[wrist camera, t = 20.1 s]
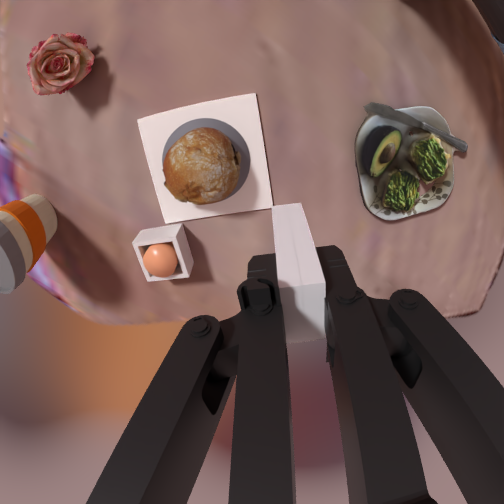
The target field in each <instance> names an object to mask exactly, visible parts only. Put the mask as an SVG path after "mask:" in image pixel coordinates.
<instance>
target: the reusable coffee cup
mask: <svg viewBox="0 0 504 504" xmlns="http://www.w3.org/2000/svg"><path fill="white" fill-rule="evenodd" d="M56 229H57V217H56V213H55V211H54V208H53V207H52V205H51V204H50V202H49V201H48V200H47V199H46V198H45V197H43V196H41V195H39V194H32V195H30V196H28V197H26V198H23V199H21V200H14V201H12V202H10V203H8V204H6V205H4V206H1V207H0V293H3V294H9V293H11V292H12V291H13V290H14V289H16V288H17V287H18V286H19V285H20V284H21V283H22V282H23V280H24V278H25V275H26V273H27V272H29V271H31V269H32V268H33V267H34V265H35V264H36V262H37V261H38V259H39V258H40V256H41V255H42V254H43V252H44V250H45V247H46V244H47V243H48V242H49V240H50V239H51V238H52V236H53V235H54V234H55V232H56Z"/></svg>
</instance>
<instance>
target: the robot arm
mask: <svg viewBox="0 0 504 504" xmlns="http://www.w3.org/2000/svg"><path fill="white" fill-rule="evenodd" d="M472 1H473V2H474V4H475V6H476V7H477V9H478V10H479V12H480V14H481V15H482V17H483V19H484V20H485V22H486V24H487V26H488V27H489V29H490V31H491V35H492V37H493V38H494V40H495V41H496V42H497V43H498V45H499V47H500V48H501V50H502V52H503V54H504V0H472ZM272 217H273V228H274V240H275V251H276V253H273V254H265V255H257V256H253V257H252V259H251V260H250V261H249V263H248V273H247V280H245V281H244V282H242V283H241V284H240V285H239V287H238V289H237V295H238V299H239V303H240V307H241V311H240V312H239V313H238V314H237V315H235V316H233V317H231V318H229V319H226V320H223V321H220V322H219V321H218V320H217V319H216V318H215V317H213V316H209V315H200V316H197V317H194V318H192V319H190V320H189V321H187V322H186V324H185V325H184V326H183V327H182V329H181V331H180V332H179V334H178V336H177V337H176V339H175V341H174V343H173V344H172V346H171V348H170V350H169V351H168V353H167V355H166V357H165V358H164V360H163V362H162V364H161V366H160V367H159V370H158V371H157V373H156V374H155V376H154V378H153V380H152V381H151V383H150V385H149V387H148V389H147V390H146V392H145V394H144V396H143V398H142V400H141V401H140V403H139V405H138V407H137V408H136V410H135V412H134V414H133V416H132V418H131V420H130V421H129V423H128V425H127V427H126V429H125V430H124V433H123V434H122V436H121V438H120V440H119V442H118V443H117V445H116V447H115V449H114V451H113V453H112V455H111V456H110V459H109V460H108V462H107V464H106V466H105V468H104V470H103V472H102V474H101V475H100V477H99V479H98V481H97V483H96V485H95V487H94V489H93V491H92V493H91V495H90V497H89V499H88V501H87V503H86V504H187V501H188V499H189V496H190V494H191V492H192V488H193V487H194V484H195V482H196V479H197V477H198V474H199V472H200V469H201V467H202V464H203V462H204V459H205V457H206V454H207V452H208V449H209V447H210V444H211V441H212V439H213V436H214V434H215V431H216V429H217V426H218V423H219V421H220V418H221V415H222V413H223V410H224V407H225V405H226V402H227V399H228V397H229V394H230V392H231V389H232V386H233V383H234V381H235V378H236V375H237V379H236V394H235V409H234V425H233V439H232V454H231V470H230V486H229V503H228V504H296V487H295V464H294V444H293V427H292V411H291V396H290V382H289V368H288V355H287V348H286V347H287V346H286V344H287V343H297V342H305V341H313V340H320V339H325V333H326V338H327V357H326V362H329V364H330V370H331V376H332V380H333V387H334V392H335V399H336V404H337V411H338V418H339V424H340V430H341V437H342V445H343V452H344V459H345V467H346V476H347V485H348V494H349V504H438V503H437V502H436V501H435V500H434V499H432V498H431V497H430V495H429V493H428V490H427V486H426V481H425V476H424V472H423V467H422V463H421V459H420V455H419V450H418V447H417V442H416V439H415V435H414V432H413V428H412V424H411V420H410V417H409V413H408V410H407V407H406V403H405V400H404V397H403V394H402V392H403V393H404V395H405V396H406V398H407V400H408V401H409V403H410V405H411V406H412V408H413V409H414V411H415V413H416V414H417V416H418V417H419V419H420V421H421V422H422V424H423V426H424V427H425V429H426V431H427V432H428V434H429V435H430V437H431V439H432V441H433V442H434V444H435V446H436V447H437V449H438V451H439V452H440V454H441V456H442V458H443V460H444V461H445V463H446V465H447V467H448V468H449V470H450V472H451V474H452V476H453V477H454V479H455V481H456V483H457V485H458V486H459V488H460V490H461V492H462V494H463V496H464V498H465V500H466V501H467V503H468V504H504V388H503V386H502V385H501V384H500V382H499V381H498V380H497V379H496V377H495V376H494V375H493V374H492V372H491V371H490V370H489V369H488V367H487V366H486V365H485V364H484V362H483V361H482V360H481V359H480V358H479V356H478V355H477V354H476V353H475V352H474V351H473V349H472V348H471V347H470V346H469V345H468V344H467V342H466V341H465V340H464V339H463V338H462V337H461V336H460V335H459V333H458V332H457V331H456V330H455V329H454V328H453V327H452V326H451V325H450V324H449V322H448V321H447V320H446V319H445V318H444V317H443V316H442V315H441V314H440V313H439V312H438V311H437V309H436V308H435V307H434V306H433V305H432V304H431V303H430V302H429V301H428V300H427V299H426V298H425V297H424V296H423V295H422V294H420V293H419V292H417V291H414V290H412V289H401V290H397V291H396V292H394V293H393V294H392V295H391V297H390V300H386V299H376V298H371V297H368V296H367V295H366V294H365V292H364V291H363V290H362V289H360V288H359V287H357V285H356V283H355V280H354V278H353V276H352V273H351V271H350V268H349V266H348V264H347V261H346V259H345V257H344V254H343V252H342V251H341V250H340V249H339V248H338V247H336V246H335V245H331V246H323V247H315V245H314V242H313V239H312V236H311V233H310V229H309V226H308V223H307V220H306V217H305V214H304V211H303V208H302V205H301V203H294V204H286V205H278V206H272Z"/></svg>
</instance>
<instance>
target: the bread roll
mask: <svg viewBox="0 0 504 504" xmlns="http://www.w3.org/2000/svg"><path fill="white" fill-rule="evenodd" d="M240 163H241V154H240V152H239V151H235V148H234V146H233V145H232V143H231V141H230V140H229V138H228V137H227V136H226V135H225V134H224V133H222V132H221V131H219V130H217V129H214V128H209V127H201V128H196V129H193V130H191V131H189V132H187V133H186V134H185V135H184V136H182V137H181V138H180V139H179V140H177V141H176V142H175V143H174V144H173V145H172V146H171V148H169V150H168V152H167V153H166V156H165V159H164V162H163V169H162V171H163V173H164V176H165V180H166V181H165V182H164V186H165V187H166V188H167V189H168V190H169V191H170V193H171V194H172V195H173V196H174V198H175V199H177V200H178V201H180V202H185V203H187V201H188V202H191V203H193V204H196V205H205V204H212V203H216V202H219V201H222V200H223V199H225V198H226V197H228V196H229V195H230V194H231V193H232V191H233V190H234V189H235V187H236V185H237V182H238V179H239V174H240V168H241V167H240Z"/></svg>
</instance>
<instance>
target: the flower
mask: <svg viewBox="0 0 504 504" xmlns="http://www.w3.org/2000/svg"><path fill="white" fill-rule="evenodd" d="M86 44H87V42H86V39H84V36H83V37H82V38H81V36H80V35H76V34H73V33H68V32H67V34H66V35H65V36H64V35H63V34H61V37H60V39H59V38H58V35H57V34H53V35H52V36H51V37H50V38H49V39H48V40H46V41H41V42H39V44H38V48H37V47H36V46H34V47H33V48H32V52H31V53H30V61H29V62H28V63H27V68H28V75H30V78H31V82H32V86H33V90H34V92H35V93H36V94H38V95H39V94H40V95H48V94H56V93H59V94H62V92H63V93H65V90H69V88H72V87H73V86H74V85H76V84H78V82H80V81H81V80H82V79H83V78H84V77H85V76H87V74H88V73H89V72H90V71H91V65H93V62H94V55H93V54H92V53H91V51H90V50H89V49H88V46H86ZM89 53H90V54H89Z"/></svg>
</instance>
